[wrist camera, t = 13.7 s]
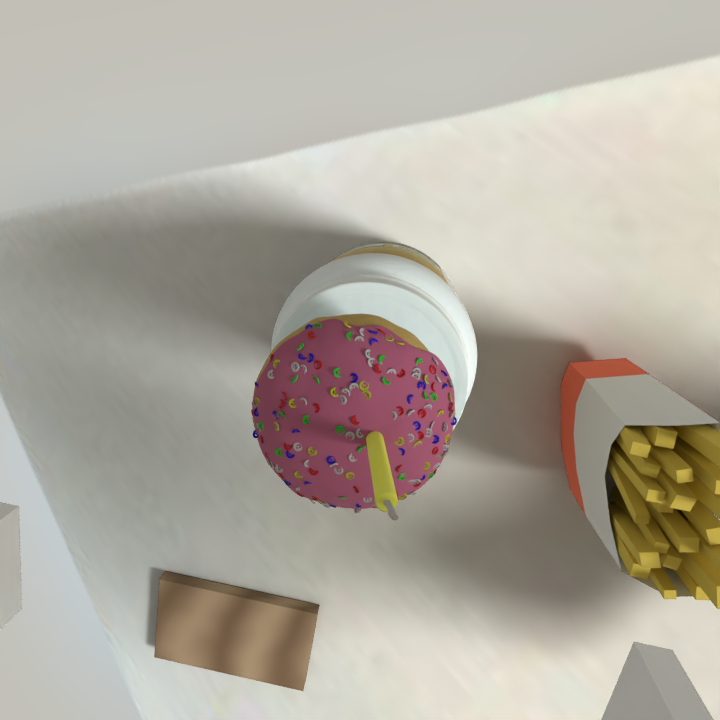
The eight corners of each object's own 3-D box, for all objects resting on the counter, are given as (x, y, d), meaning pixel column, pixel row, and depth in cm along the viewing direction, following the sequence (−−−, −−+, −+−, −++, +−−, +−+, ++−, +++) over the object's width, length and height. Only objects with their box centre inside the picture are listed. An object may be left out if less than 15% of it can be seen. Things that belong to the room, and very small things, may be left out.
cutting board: (319, 605, 51) (317, 614, 49) (305, 680, 54) (303, 691, 52) (165, 571, 51) (159, 579, 50) (159, 647, 54) (154, 657, 53)
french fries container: (557, 474, 44) (648, 641, 27) (555, 354, 41) (656, 455, 24) (612, 471, 44) (742, 639, 26) (614, 349, 41) (761, 449, 23)
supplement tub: (283, 291, 42) (201, 341, 26) (409, 210, 39) (406, 208, 23) (361, 410, 44) (331, 525, 28) (486, 341, 42) (532, 424, 25)
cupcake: (444, 291, 24) (472, 364, 12) (452, 454, 26) (481, 643, 15) (268, 304, 25) (144, 382, 14) (290, 460, 27) (200, 640, 16)
